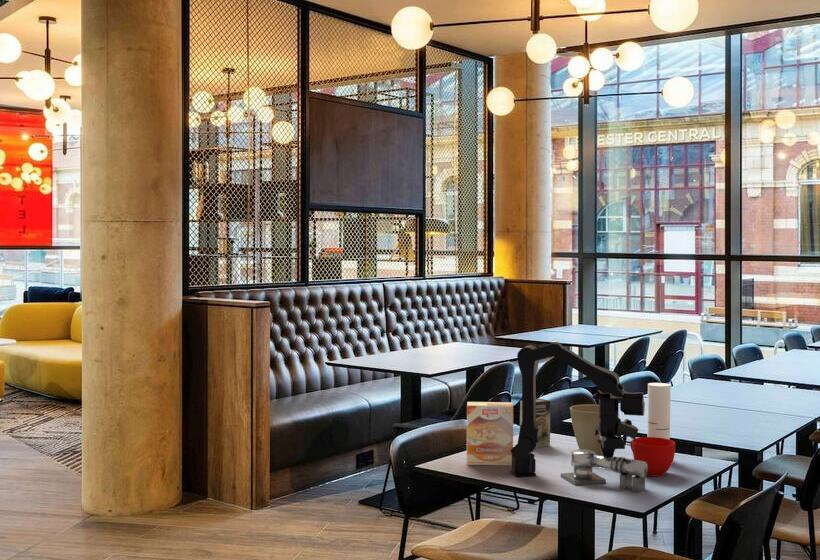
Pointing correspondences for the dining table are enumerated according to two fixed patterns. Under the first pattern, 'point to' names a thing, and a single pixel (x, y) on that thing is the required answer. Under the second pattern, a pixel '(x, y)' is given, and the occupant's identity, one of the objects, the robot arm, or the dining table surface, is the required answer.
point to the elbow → (592, 460)
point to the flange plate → (582, 481)
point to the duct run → (632, 468)
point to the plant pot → (586, 427)
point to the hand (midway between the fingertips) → (608, 465)
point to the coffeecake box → (489, 433)
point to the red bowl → (654, 453)
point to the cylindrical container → (658, 410)
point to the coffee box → (541, 420)
